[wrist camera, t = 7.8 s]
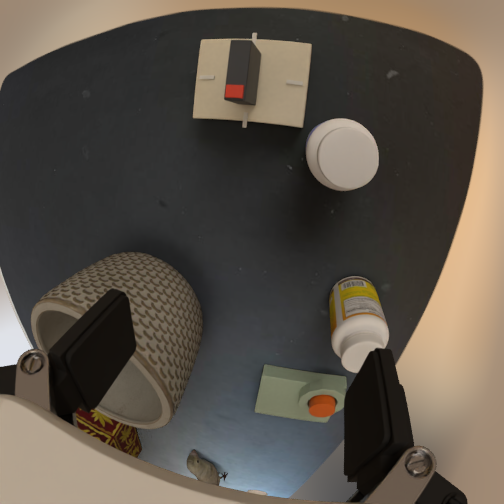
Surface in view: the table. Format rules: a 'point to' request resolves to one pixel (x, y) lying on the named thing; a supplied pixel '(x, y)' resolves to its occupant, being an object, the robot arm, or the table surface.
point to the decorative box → (109, 431)
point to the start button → (322, 405)
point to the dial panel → (269, 84)
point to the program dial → (242, 72)
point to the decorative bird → (203, 469)
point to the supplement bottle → (356, 321)
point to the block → (296, 392)
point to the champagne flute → (257, 492)
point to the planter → (145, 328)
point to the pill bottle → (342, 154)
